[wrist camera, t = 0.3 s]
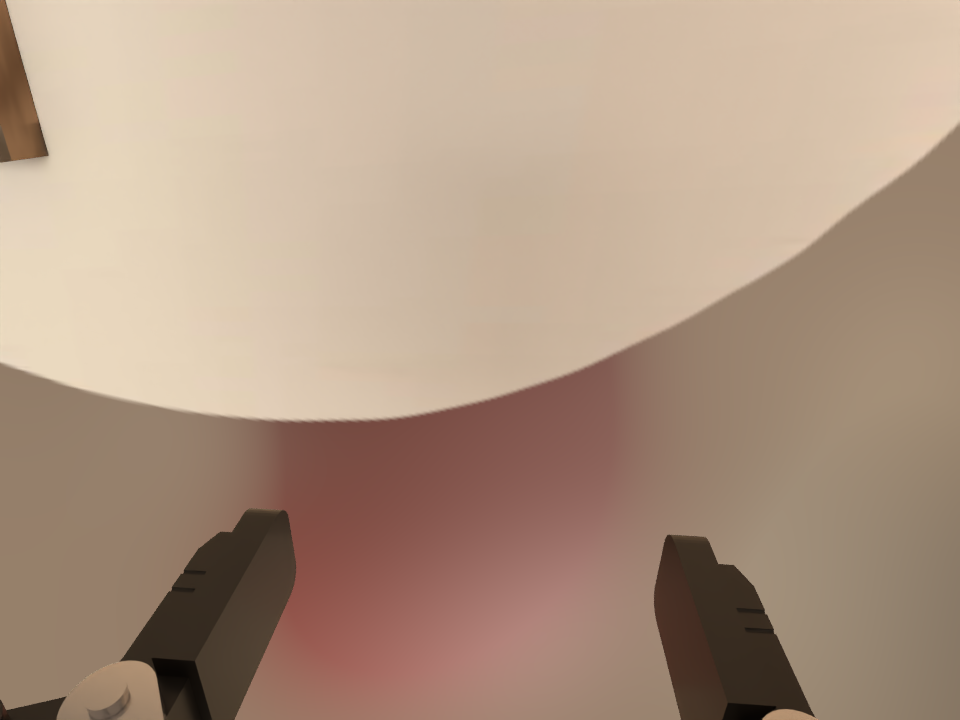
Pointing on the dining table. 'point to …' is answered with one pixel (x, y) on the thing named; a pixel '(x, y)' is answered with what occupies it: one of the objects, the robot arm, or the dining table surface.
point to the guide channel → (16, 101)
